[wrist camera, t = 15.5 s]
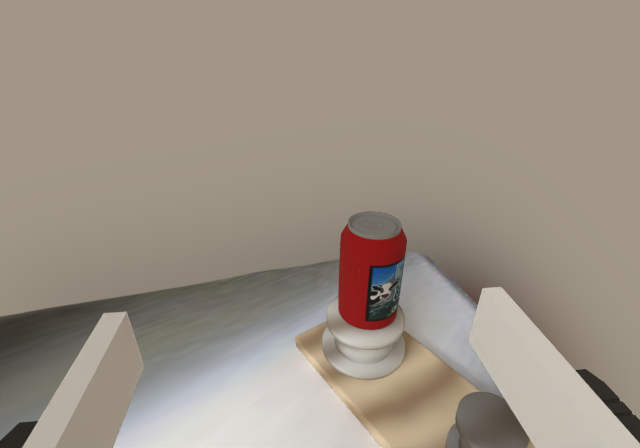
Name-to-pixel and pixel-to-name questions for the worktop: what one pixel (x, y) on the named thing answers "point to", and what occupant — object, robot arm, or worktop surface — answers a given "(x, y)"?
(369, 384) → the wooden knob board
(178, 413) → the worktop surface
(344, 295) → the beverage can
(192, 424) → the worktop surface
